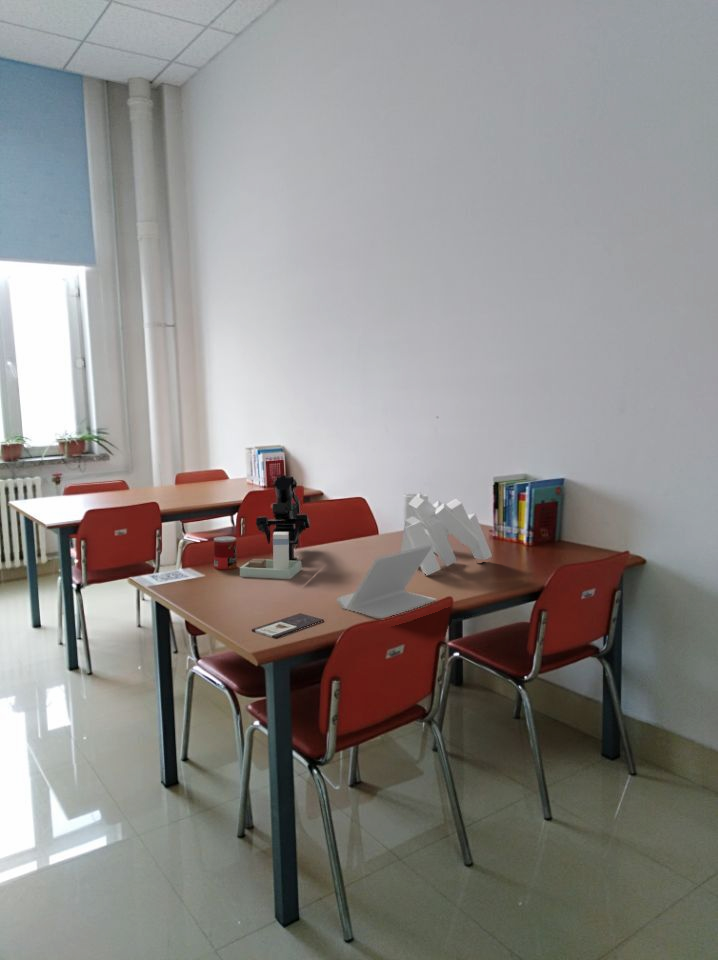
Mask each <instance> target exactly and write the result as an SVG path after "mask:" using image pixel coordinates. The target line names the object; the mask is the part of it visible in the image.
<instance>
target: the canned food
mask: <svg viewBox="0 0 718 960" xmlns="http://www.w3.org/2000/svg"><path fill="white" fill-rule="evenodd" d="M237 561H238V559H237V537H235V536H229V535H228V536H227V535H226V536H224V535H223V536H216V537H214V538H213V564H214V565H213V566H214V567H213V568H214V569H216V570H220V571H222V570H223V571H225V570H226V571H227V570H233V569H236V568H237V566H238V565H237Z"/></svg>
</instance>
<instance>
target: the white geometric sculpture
mask: <svg viewBox="0 0 718 960" xmlns="http://www.w3.org/2000/svg"><path fill="white" fill-rule="evenodd" d="M417 494H418V495H416V496H415V497H414V498H413V499H412V500H411V501H410V503H409V506H410V507H411V508H412V509H413V511H414V512H415V513H416V514H417V516H418V517H419V518H420V520H421V521H422V522H421V521H420V520H418V519H416V518H415V517H413V516H412V517H410V518H408V519H406V520H405V522H404V524H403V531H402V532H403V533H402V539H401V549H400V552H403V551H407V550H411V549H415V548H419V547H423V546H427V545H430V546H431V547H432V548H431V549H430V551H429V552H428V554H427V555H426V557H425V559H424V560H423V562H422V563H421V565H420V566H419V568H420V569H421V571H422V574H423V573H425V574H426V575H425V576H430V575H432V574H433V573H437V572H438V571H440V570H442V569H441V567H440V565H439V562H438V559H439V560H440V562H441V563H443V565H444V566H446V567H449V566H450V565H452V564H455V562H457V561H458V560H457V558H456V556H455V555H456V554H455V553H454V550H453V548H452V546H451V543H450V540H449V538H448V537H449V536H450V535H453V536H454V537H455V538H456V539H457V540H458V541H459V543H461V544H462V545H464V546H466V547H467V548H468V549H469V550H470V551H471V554H472V556H473V558H477V559H483V560H485V559H488V558H490V557H491V558H492V556H493V555H492V552H491V550H490V547H489V545H488V541H487V540H486V537H485V535H484V532H483V529H482V528H481V524H480V522H479V519H478V517H477V514H476V513H469V514H468V513H467V511H466V509H465V508H464V506H463V503H462V502H461V501H460V500H458V499H457V498H454V499H452V500H450V501H449V502H447V503H445V502H443V503H442V502H441V501H440V500H437V501H436V502H434V503H433V504H432V503H431V502H430V501H429V499H428V500H427V499H426V498H425V497H424V496H423V495H422V494H423V493H421V492H418V493H417ZM423 523H424V525H425V526H426V529H425V528H424V527H423ZM436 555H438V559H437V556H436ZM491 558H490V559H491Z"/></svg>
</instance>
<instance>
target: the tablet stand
mask: <svg viewBox="0 0 718 960" xmlns="http://www.w3.org/2000/svg"><path fill="white" fill-rule="evenodd" d="M431 548H432V547H431V546H430V545H427V546H423V547H419V548H415V549H411V550H407V551H403V552H401V551H400V552H395V553H391V554H387V555H384V556H378V557H377V558H375V559H374V561H373V563H372V564H371V566H370V568H369V569H368V571H367V572H366V574H365V576H364V577H363V579H362V581H361V582H360V584H359V586H358V587H357V589H356V590H355V592H352V593H348V594H345V595H342V596H339V597H338V598H337V599H336V602H337V603H338V604H339V605H340V606H341V608H342V609H343V610H346V609H347V611H349V610H351V611H350V612H353V611H355V612H354V613H357V612H359V613H358V614H360V613H362V614H361V615H364V614H365V615H364V616H367V617H368V616H369V617H372V618H376V619H379V618H383V617H388V616H391V615H395V614H398V615H400V614H399V613H401V614H403V613H402V612H404V613H406V612H405V611H407V612H409V611H411V610H415V609H417V607H418V608H421V607H423V605H424V606H426V605H429V604H431V603H430V602H432V603H434V602H433V601H435V602H436V601H437V599H436V598H435V597H431V596H427V595H422V594H419V593H413V592H410V591H407V590H406V588H407V586H408V585H409V583H410V581H411V580H412V579H413V577H414V576H415V573H416V572H417V571H418V569H419V568H420V565H421V563H422V562H423V560H424V559H425V557H426V555H427V554H428V552H429V551H430V549H431ZM428 603H429V604H428ZM425 604H426V605H425ZM420 606H421V607H420ZM414 608H415V609H414ZM408 610H409V611H408ZM395 616H396V615H395Z"/></svg>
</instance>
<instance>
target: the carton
mask: <svg viewBox="0 0 718 960" xmlns="http://www.w3.org/2000/svg"><path fill="white" fill-rule="evenodd" d="M272 548H273V549H272V552H273V553H272V554H273V555H272V556H273V559H272V560H273V569H289V532H274V533H272Z"/></svg>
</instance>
